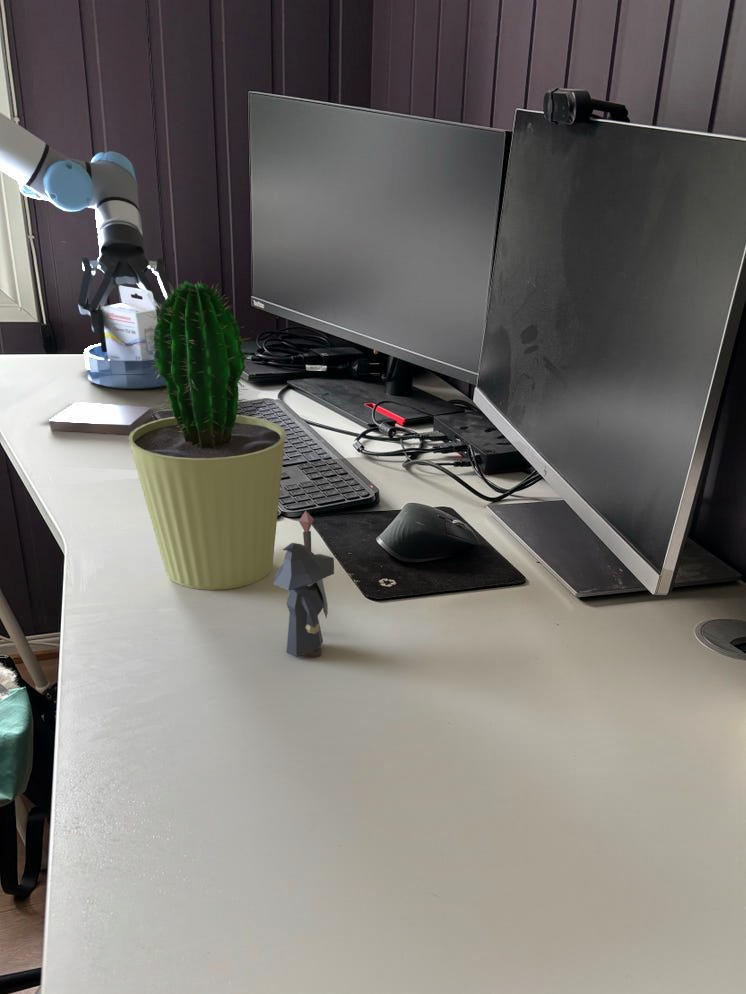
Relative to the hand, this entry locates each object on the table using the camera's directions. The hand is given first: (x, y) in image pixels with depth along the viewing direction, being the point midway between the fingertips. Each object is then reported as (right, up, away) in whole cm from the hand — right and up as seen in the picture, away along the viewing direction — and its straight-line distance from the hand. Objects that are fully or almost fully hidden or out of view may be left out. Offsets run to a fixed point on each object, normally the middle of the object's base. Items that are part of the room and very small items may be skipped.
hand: (133, 346), depth 165 cm
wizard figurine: (+43, -51, -75) cm, 100 cm away
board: (+2, -17, -18) cm, 25 cm away
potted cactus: (+32, -43, -61) cm, 81 cm away
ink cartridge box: (-1, -4, +5) cm, 7 cm away
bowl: (-1, -4, +6) cm, 7 cm away
